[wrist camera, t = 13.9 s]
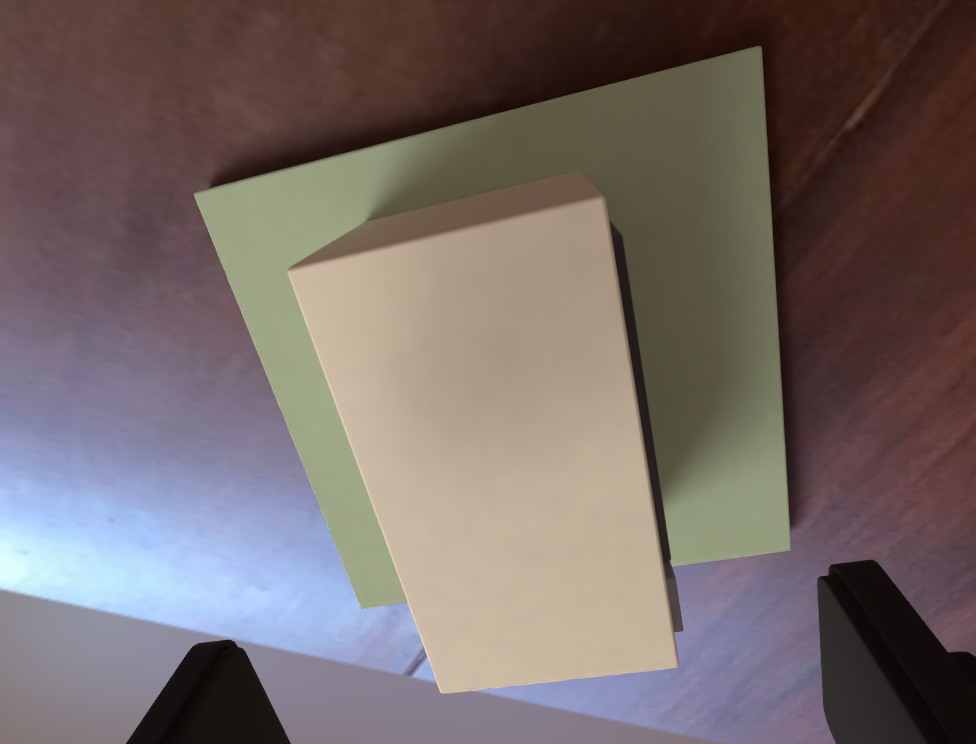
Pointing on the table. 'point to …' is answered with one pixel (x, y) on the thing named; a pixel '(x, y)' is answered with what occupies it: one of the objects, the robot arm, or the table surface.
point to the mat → (651, 268)
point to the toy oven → (503, 431)
